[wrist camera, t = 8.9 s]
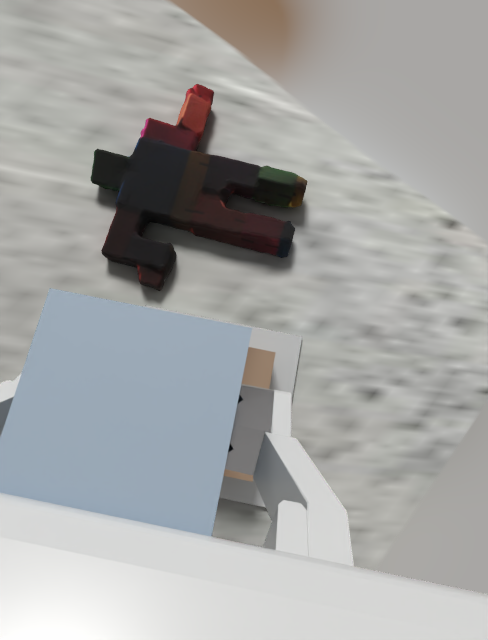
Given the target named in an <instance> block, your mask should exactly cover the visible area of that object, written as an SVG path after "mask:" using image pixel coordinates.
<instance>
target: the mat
mask: <svg viewBox="0 0 488 640" xmlns="http://www.w3.org/2000/svg"><path fill="white" fill-rule="evenodd" d="M144 307H148V308H153V309H158V310H163V311H168V312H173V313H178V314H183V315H188V316H193V317H198V318H203V319H208V320H213V321H218V322H223V323H229V324H234V325H239V326H244V327H249V328H252V332H251V337H250V342H249V347H252V348H257V349H262V350H267V351H272V352H276V353H275V359H274V364H273V370H272V376H271V381H270V387H269V389H272V390H279V391H284V392H290V393H291V395H292V396H293V390H294V384H295V378H296V371H297V365H298V359H299V353H300V347H301V341H302V336H298V335H293V334H288V333H283V332H278V331H273V330H267V329H262V328H257V327H252V326H247V325H242V324H237V323H232V322H227V321H222V320H217V319H212V318H207V317H202V316H197V315H192V314H187V313H182V312H177V311H172V310H167V309H162V308H157V307H152V306H146V305H145V306H144ZM219 498H223V499H227V500H232V501H237V502H242V503H247V504H252V505H256V506H261V507H265V504H264V502H263V499H262V497H261V495H260V492H259V490H258V488H257V485H256V483H255V481H254V478H253V482H251V481H246V480H241V479H237V478H232V477H227V476H223V480H222V485H221V490H220V495H219Z"/></svg>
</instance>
